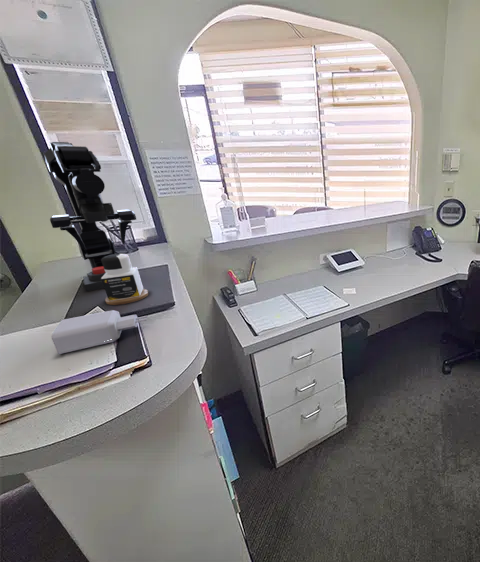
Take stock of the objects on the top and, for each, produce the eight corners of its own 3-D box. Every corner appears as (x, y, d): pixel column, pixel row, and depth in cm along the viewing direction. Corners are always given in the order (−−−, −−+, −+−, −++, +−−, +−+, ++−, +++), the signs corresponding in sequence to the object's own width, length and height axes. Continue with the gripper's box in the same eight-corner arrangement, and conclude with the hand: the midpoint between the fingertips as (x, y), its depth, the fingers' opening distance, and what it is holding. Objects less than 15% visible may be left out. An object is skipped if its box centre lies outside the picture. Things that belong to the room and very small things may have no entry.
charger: (148, 335, 70) (58, 356, 62) (150, 319, 77) (70, 336, 70) (142, 317, 68) (49, 336, 61) (145, 302, 75) (63, 317, 68)
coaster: (104, 297, 90) (103, 295, 90) (145, 288, 97) (144, 286, 96) (107, 308, 83) (106, 305, 83) (151, 297, 90) (150, 295, 89)
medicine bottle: (108, 302, 85) (94, 260, 81) (114, 293, 91) (101, 254, 87) (140, 296, 88) (127, 256, 84) (143, 288, 94) (132, 250, 90)
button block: (85, 283, 102) (81, 271, 100) (119, 276, 107) (116, 265, 106) (86, 291, 95) (82, 279, 93) (123, 283, 100) (119, 272, 99)
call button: (93, 273, 100) (91, 268, 99) (107, 270, 102) (105, 265, 101) (93, 275, 97) (91, 270, 97) (108, 273, 100) (106, 268, 99)
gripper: (39, 198, 77) (62, 257, 83) (131, 192, 89) (146, 245, 95) (41, 195, 85) (63, 250, 90) (126, 190, 97) (140, 239, 102)
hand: (104, 246), depth 94 cm, fingers open, 9 cm apart
